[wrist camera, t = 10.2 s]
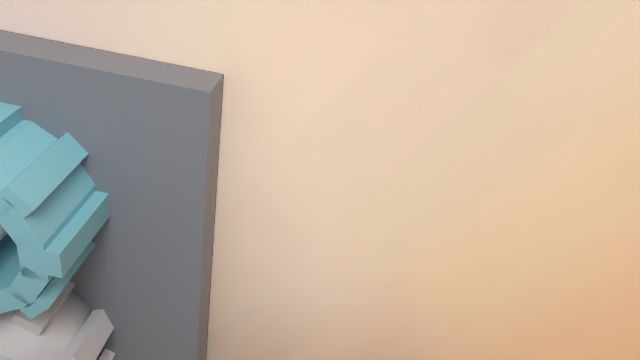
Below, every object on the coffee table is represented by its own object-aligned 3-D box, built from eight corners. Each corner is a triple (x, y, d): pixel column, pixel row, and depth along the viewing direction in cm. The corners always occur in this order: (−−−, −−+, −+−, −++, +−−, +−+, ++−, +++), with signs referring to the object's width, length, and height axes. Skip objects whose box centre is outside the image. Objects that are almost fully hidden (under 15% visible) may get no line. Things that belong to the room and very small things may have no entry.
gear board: (202, 408, 30) (157, 530, 25) (-27, 356, 31) (-117, 465, 26) (223, 74, 20) (156, 164, 15) (-115, 6, 21) (-287, 72, 16)
